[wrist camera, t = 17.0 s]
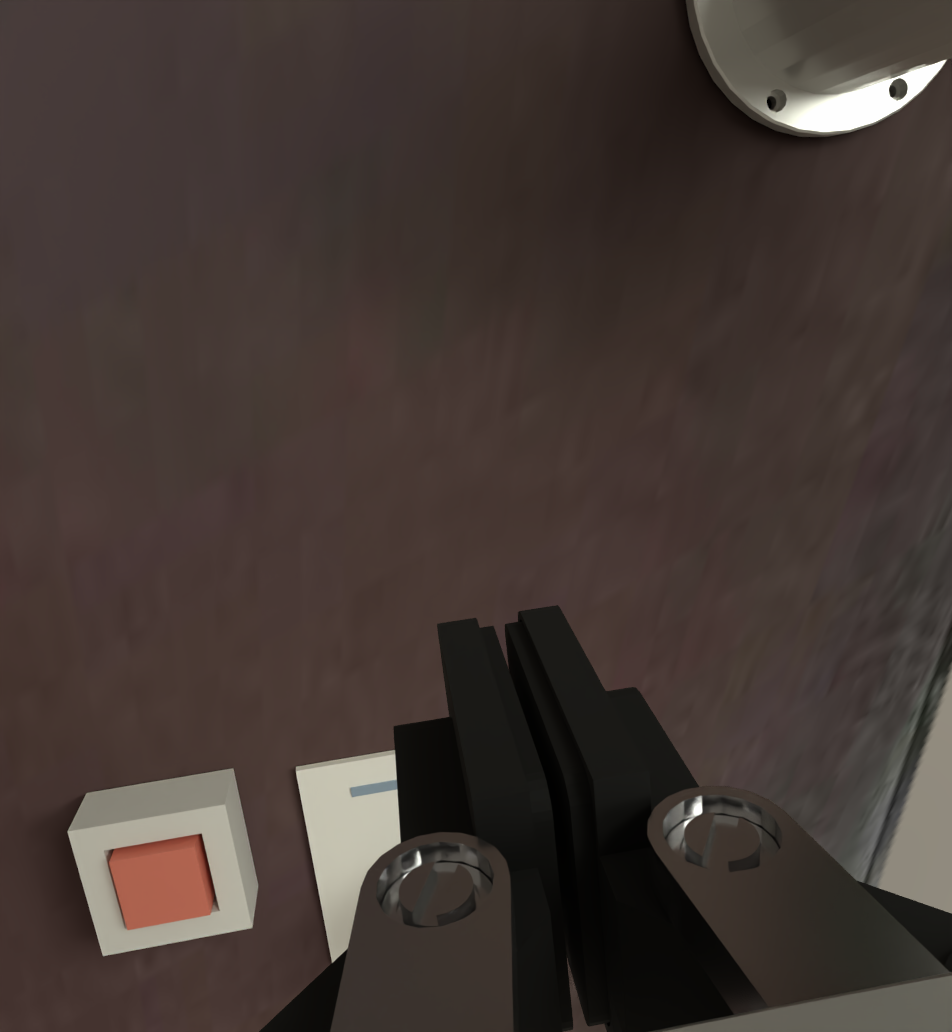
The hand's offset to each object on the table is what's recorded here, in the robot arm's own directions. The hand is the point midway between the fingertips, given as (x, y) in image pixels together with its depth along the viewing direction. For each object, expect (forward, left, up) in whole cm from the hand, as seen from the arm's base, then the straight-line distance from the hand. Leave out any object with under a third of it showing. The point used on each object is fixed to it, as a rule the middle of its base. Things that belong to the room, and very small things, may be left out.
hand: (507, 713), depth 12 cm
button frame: (+14, +20, -28) cm, 37 cm away
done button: (+14, +20, -28) cm, 37 cm away
